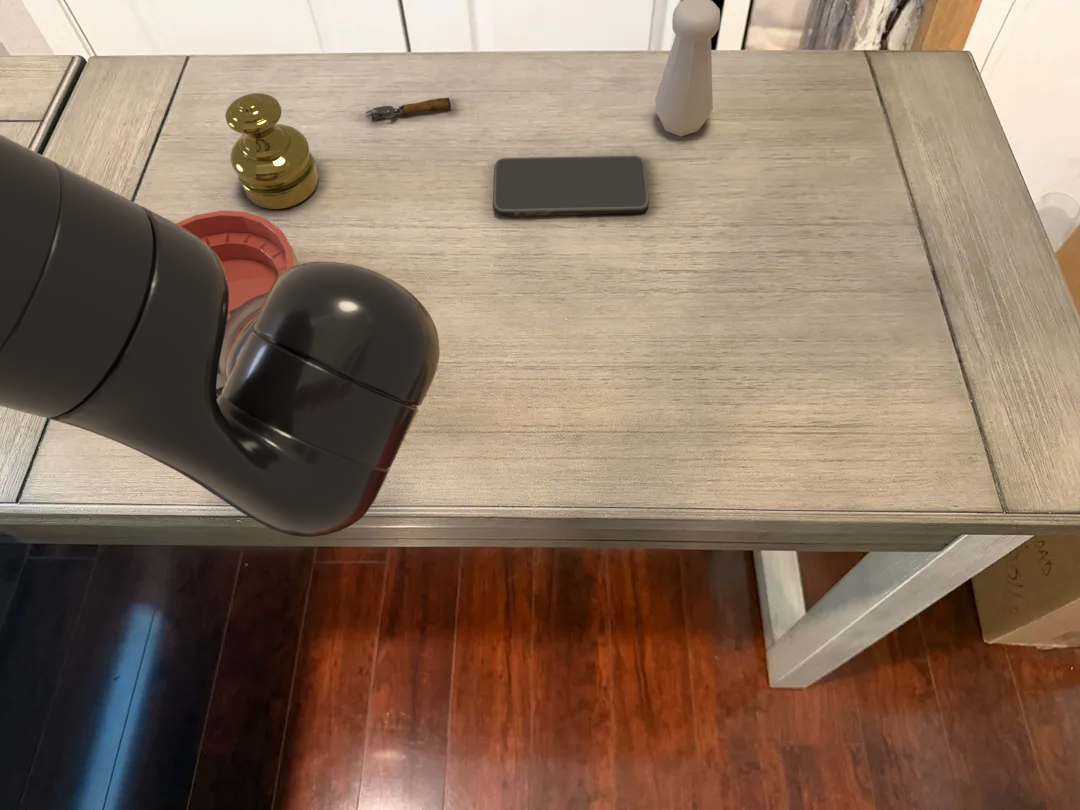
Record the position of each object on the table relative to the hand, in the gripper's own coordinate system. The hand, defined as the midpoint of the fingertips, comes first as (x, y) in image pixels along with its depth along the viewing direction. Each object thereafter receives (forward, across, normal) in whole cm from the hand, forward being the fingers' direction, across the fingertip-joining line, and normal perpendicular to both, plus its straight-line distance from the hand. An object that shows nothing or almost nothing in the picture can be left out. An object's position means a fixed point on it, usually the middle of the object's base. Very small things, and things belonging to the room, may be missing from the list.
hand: (270, 337), depth 63 cm
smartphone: (+9, -32, +1) cm, 33 cm away
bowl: (+13, +2, -3) cm, 14 cm away
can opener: (+23, -24, -12) cm, 36 cm away
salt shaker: (+10, -47, +1) cm, 48 cm away
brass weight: (+22, -9, -11) cm, 26 cm away
